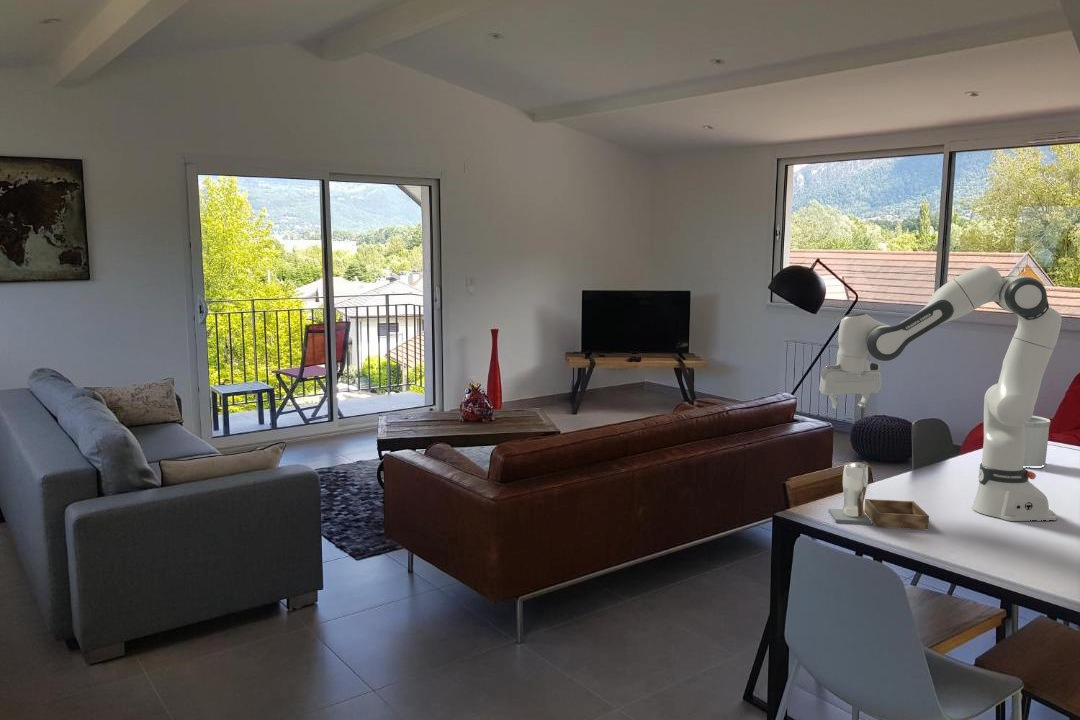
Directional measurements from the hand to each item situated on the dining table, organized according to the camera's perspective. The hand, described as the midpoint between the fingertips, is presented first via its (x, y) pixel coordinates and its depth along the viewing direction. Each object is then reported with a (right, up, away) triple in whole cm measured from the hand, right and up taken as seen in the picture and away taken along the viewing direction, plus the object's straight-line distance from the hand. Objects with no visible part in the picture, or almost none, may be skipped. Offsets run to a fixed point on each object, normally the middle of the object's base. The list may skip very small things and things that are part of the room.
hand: (848, 407), depth 265 cm
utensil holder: (+83, -24, +48) cm, 98 cm away
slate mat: (-6, -32, -17) cm, 37 cm away
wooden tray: (+7, -32, -19) cm, 38 cm away
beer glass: (-5, -31, -17) cm, 36 cm away
